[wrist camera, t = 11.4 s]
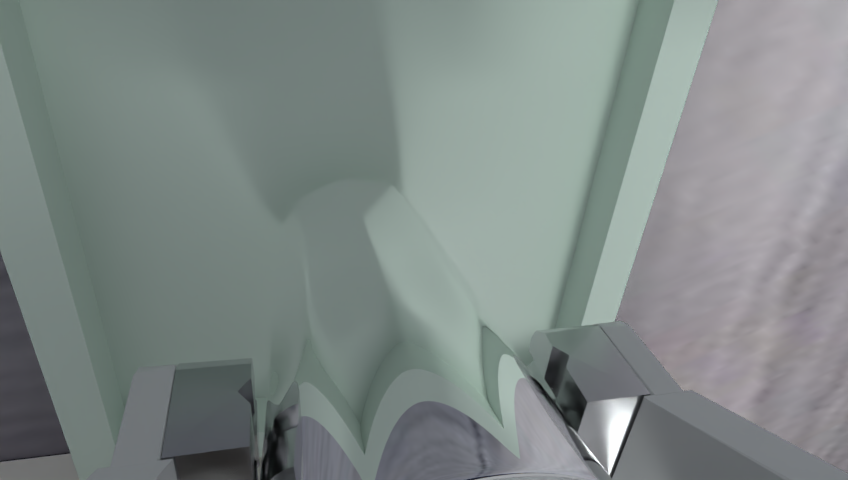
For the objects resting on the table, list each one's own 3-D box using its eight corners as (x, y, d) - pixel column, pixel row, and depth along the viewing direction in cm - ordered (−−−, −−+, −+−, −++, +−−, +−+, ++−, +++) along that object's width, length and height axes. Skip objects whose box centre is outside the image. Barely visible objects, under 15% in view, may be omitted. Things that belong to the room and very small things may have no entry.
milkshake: (336, 68, 11) (624, 680, 3) (485, 240, 14) (836, 778, 6) (161, 219, 11) (-37, 1075, 3) (340, 352, 14) (465, 978, 6)
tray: (96, 425, 16) (80, 481, 15) (-93, -206, 9) (-164, -222, 7) (559, 373, 19) (584, 414, 18) (695, -118, 12) (755, -116, 11)
